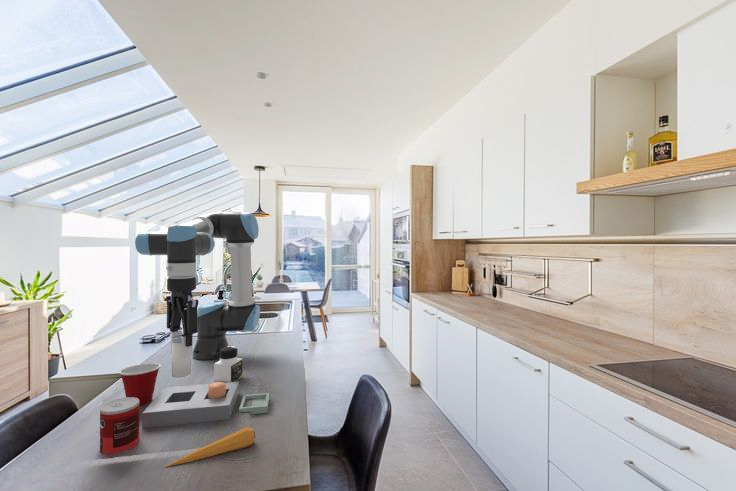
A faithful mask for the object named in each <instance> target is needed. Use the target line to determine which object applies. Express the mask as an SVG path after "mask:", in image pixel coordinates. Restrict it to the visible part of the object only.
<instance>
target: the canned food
mask: <svg viewBox="0 0 736 491" xmlns="http://www.w3.org/2000/svg"><path fill="white" fill-rule="evenodd" d="M140 409H141V406H140V402H139V399H138V398H134V397H126V396H125V397H121V398H117V399H113V400H110V401H108V402H106V403H104V404H103V405H102V406H101V407H100V410H99V452H100V453H101V454H104V455H115V454H121V453H123V452H126V451H128V450H130V449H132V448H133V447H135V446H136V445H138V443H139V442H140V422H141V421H140V419H141V418H140V416H141V415H140V414H141V413H140V411H141V410H140ZM108 458H111V456H109V457H108Z"/></svg>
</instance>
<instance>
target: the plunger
mask: <svg viewBox="0 0 736 491" xmlns="http://www.w3.org/2000/svg"><path fill="white" fill-rule="evenodd" d="M226 383H227V382H226V381H214V382H213V383H209V384H210V385H209V386H208V399H215V398H226Z"/></svg>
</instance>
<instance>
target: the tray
mask: <svg viewBox="0 0 736 491" xmlns="http://www.w3.org/2000/svg"><path fill="white" fill-rule="evenodd" d="M251 399H252V401H251V405H250V406H245V403H246V400H251ZM269 404H270V392H263V393H252V394H243V396H242V399H241V402H240V404H239V408H238V413H246V412H248V415H257V414H258V415H259V414H267V413H268V409H269Z"/></svg>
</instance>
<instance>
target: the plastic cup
mask: <svg viewBox="0 0 736 491" xmlns="http://www.w3.org/2000/svg"><path fill="white" fill-rule="evenodd" d="M160 369H161V364H160V363H157V362H155V363H154V362H151V363H140V364H135V365H132V366H131V365H130V366H126V367H124V368H121V369H120V370H119V371H118V373H119V375H120V377H121V380H122V383H123V389H124V393H125V394H124V395H125V398H126V397H134V398H138V399H139V402H140V407H144V406H146V405H148V404H151V403H152V402H153V396H154V393H155V387H156V381H157V378H158V377H157V376H158V374H159V371H160Z"/></svg>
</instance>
